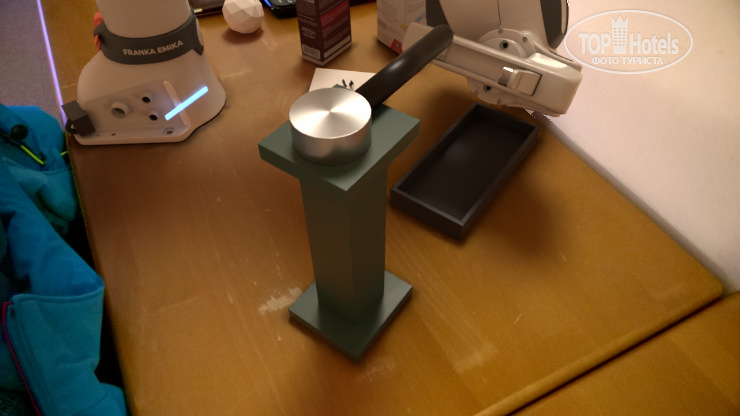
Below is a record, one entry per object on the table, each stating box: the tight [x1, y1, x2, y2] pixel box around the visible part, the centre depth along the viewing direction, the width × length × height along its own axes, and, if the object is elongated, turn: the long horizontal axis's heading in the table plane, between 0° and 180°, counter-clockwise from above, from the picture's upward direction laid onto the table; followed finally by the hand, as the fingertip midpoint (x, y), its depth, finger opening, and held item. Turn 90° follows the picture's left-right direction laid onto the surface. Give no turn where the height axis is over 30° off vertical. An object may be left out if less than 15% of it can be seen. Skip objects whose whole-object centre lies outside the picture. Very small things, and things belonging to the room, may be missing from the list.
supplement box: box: [294, 0, 353, 67], centre depth 82 cm, size 9×5×16 cm, turn 144°
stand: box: [257, 84, 422, 364], centre depth 45 cm, size 10×9×24 cm
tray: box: [389, 100, 542, 241], centre depth 67 cm, size 22×10×3 cm, turn 144°
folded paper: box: [308, 67, 377, 92], centre depth 78 cm, size 12×12×2 cm
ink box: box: [376, 0, 427, 56], centre depth 85 cm, size 9×5×12 cm, turn 33°
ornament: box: [221, 0, 265, 35], centre depth 90 cm, size 7×7×8 cm
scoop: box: [288, 25, 454, 166], centre depth 38 cm, size 19×6×2 cm, turn 144°
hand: (463, 61), depth 50 cm, fingers open, 8 cm apart
